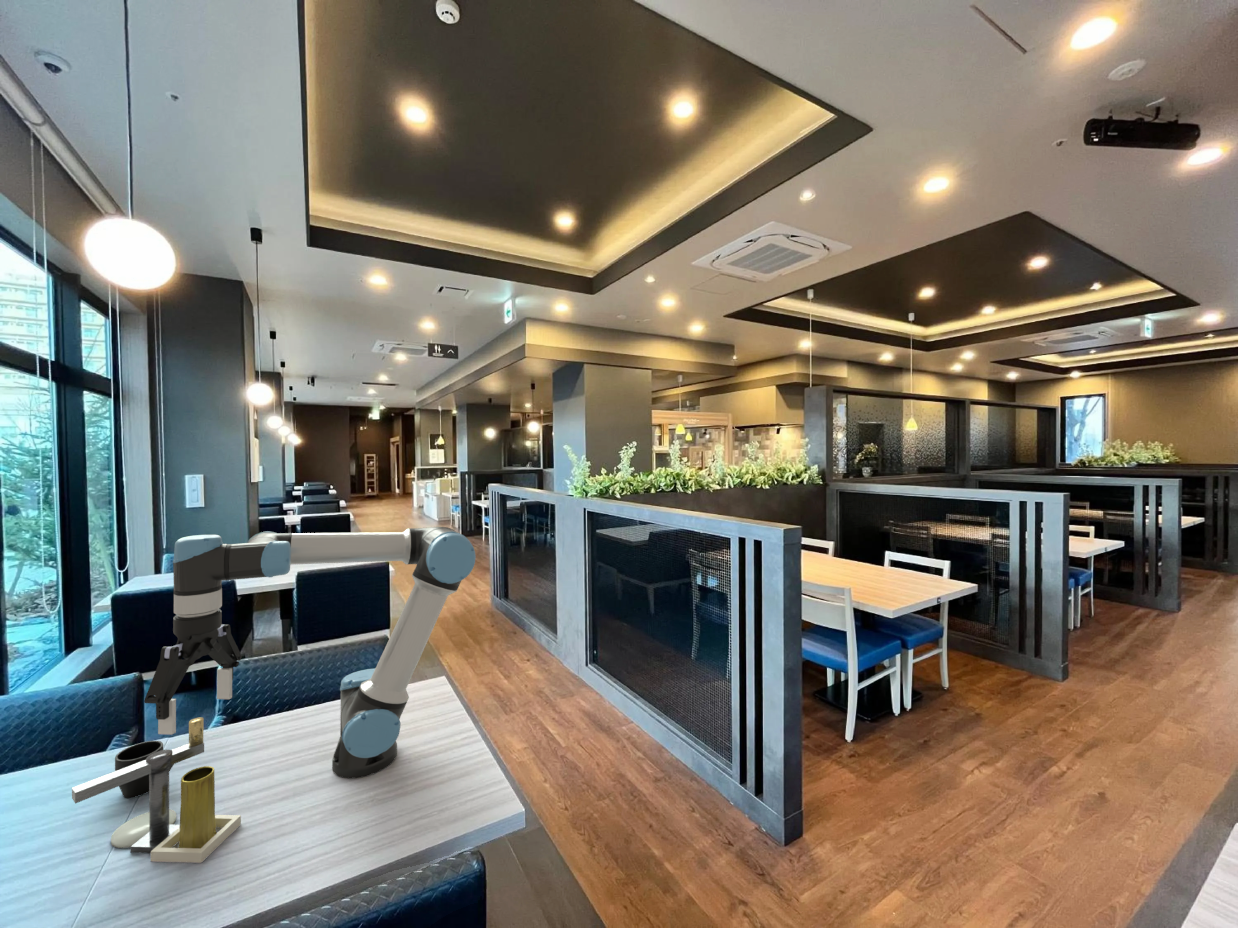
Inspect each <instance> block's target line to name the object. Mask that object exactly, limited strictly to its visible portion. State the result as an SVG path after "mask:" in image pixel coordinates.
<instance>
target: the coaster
mask: <svg viewBox="0 0 1238 928" xmlns="http://www.w3.org/2000/svg"><path fill="white" fill-rule="evenodd" d="M176 821H177V812H176V811H175V810H173V809H170V808H169V825H175V823H176ZM148 832H149V811H147V812H144V813H142V814H140V815H136V816H134V817H133V818H131V819H129V820H127V821H126V822H124V823H122V824H121V825H119V826H118V827H117V828H115V830H114V832H113V833H112V834H111V836H110V837H111V838H110V844H111V846H112V847H114V848H117V849H127V848H129V849H130V847H131V846H132V845H133V844H135V843H136V842H137V841H138V840H140V839H141V838H142V837H143V836H145V835H146V834H147V833H148Z"/></svg>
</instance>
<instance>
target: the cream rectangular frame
mask: <svg viewBox="0 0 1238 928" xmlns="http://www.w3.org/2000/svg"><path fill="white" fill-rule="evenodd" d="M215 823H216V829H218V828H221V829H220V830H219V831H218V832H217V834H216V835H215V836H213V837H212V838H211V839H210V840H209V841H208V842H207V843H206V844H205V845H204V846H203V847H202V848H201V849H200V848H178V847H175V845H177V844H179V837H180V827H179V828H178V829H177V830H176V831H174V832H173V833H172V834H171V835H170V836H169V837H167V838H166V839H165V840H164V841H163V842H161V843H160V844H159V845H158V846H157V847H155V848H154V849H153V850H152V851H151V853H150V862H158V863H160V862H161V863H195V864H196V863H197V864H201V863H202V862H204V861H205V860H206V859H207V858H208V857H209V856H210V855H211V854H212V853H213V852H214V851H215V850H216V849H218V847H219V846H221V844H222V843H223V842H224V841H225V840H227V838H228V837H230V836H231V835H232V834H233V832H235V831H236V830H237V829H238V828H239V827H240V826H241V825H242V816H241V814H240V815H239V814H238V815H236V814H235V815H234V814H233V815H232V814H215Z"/></svg>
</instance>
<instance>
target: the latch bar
mask: <svg viewBox="0 0 1238 928" xmlns="http://www.w3.org/2000/svg"><path fill="white" fill-rule="evenodd" d="M204 720H205V719H204V717H195V718H192V719H190V720H189V721H188V743H185V744H183V745H181V746H178V747H176V748H173V749H163V750H161V751H158V752H155V753H153V754H151V755H149V756H148V757H147V758H146V760H144V761H141V762H138V763H136V764H133V765H130V766H128V767H125V768H123V769H120V770H117V771H115V770H114V771H112V772H109V773H107V774H105V775H102V776H99V777H97V778H94V779H91V780H89V781H86V782H84V783H80V784H78V785H76V786H73V787H71V799H72V801H73V803H74V804H77V803H80V802H82V801H85V800H89V799H90V798H92V797H95V796H99V795H100V794H102V793H105V792H107V791H111V790H113V789H115V788H118V787H119V786H121V785H123V784H126V783H128V782H131V781H133V780H136V779H138V778H141V777H143V776H146V775H148V774H151V773H156V772H160V771H163V770H165V769H167V768H169V767H170V766H171V765H173V764H174V765H176V764H177V763H180V762H183V761H186V760H188V759H191V758H193V757H195V756H198V755H200V754H203V753H205V742H204V725H205V723H204ZM174 765H173V766H174Z"/></svg>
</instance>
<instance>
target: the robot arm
mask: <svg viewBox="0 0 1238 928" xmlns="http://www.w3.org/2000/svg"><path fill="white" fill-rule="evenodd" d="M173 550H174V551H173V560H172V565H173V566H172V568H173V569H172V570H173V614H175V615H174V616H173V621H172V624H173V628H172V631H173V634H174V635H175V637H177V642H176V644H175V645H173V646H172V645H171V646H163V647H162V648H161V650H160V655H159V656H160V657H159V658H160V659H159V662H158V663H157V666H156V669H155V671H154V675H153V677H152V679H151V682H150V685H149V687H148V689H147V692H146V695H145V698H144V700H143V701H144V704H155V718H156V720H157V721H158V723H157V724H158V725H157V726H158V727H157V734H158V735H168V736H169V735H171V736H172V735H174V734H176V733H177V722H176V721H177V698H173V697H174V696H175V693H176V691H177V690H178V688H179V687H180V684H181V682H182V680H183V679H184V677H185V675H186V674H187V671H188V670H189V668H190V667H191V666H193V665H194V663H195V662H196V661H197V660H199V659H201V658H202V657H204V656H209V657H210V658H211V659H212V660H213V661H215V662H216V664H218V665H219V666H220V667H219V668H217V669H216V699H217V700H230V699H232V698H233V681H234V680H233V679H234V668H237V667H239V665H240V661H241V660H242V658H243V656H242V654H241V652H240V649H239V647H238V645H237V644H236V640H235V639H234V637H233V635H232V629H231V625H230V624H223V622H222V617H223V614H222V612H223V611H222V610H221V608H222V607H223V588H222V587H223V584H222V582H223V581H234V580H246V579H259V578H273V577H278V576H285V575H288V573H290V571H291V566H292V565H313V564H314V565H316V564H320V565H321V564H344V563H345V564H347V563H373V562H375V563H377V562H403V564H405V565H416V566H415V568H414V570H413V572H412V575H411V577H412V579H413V582H414V585H413V587H412V589H411V591H410V594H409V596H408V598H407V599H406V602H405V604H404V606H403V609H402V611H401V612H400V614H399V617H398V620H397V622H396V624H395V625H394V628H393V630H392V631H391V634H390V636H389V639H388V641H387V643H386V645H385V646H384V650H383V652H382V654H381V655H380V658H379V660H378V662H377V664H376V667H375V668H367V669H361V670H358V671H354V672H352V673H349V674H347V675H345V676H344V677H343V678H342V679H341V681H340V688H339V691H340V719H339V721H340V726H339V727H340V728H339V729H340V730H339V731H340V732H339V733H340V736H339V739H338V741H337V745H336V748H335V751H334V753H333V757H332V760H331V761H332V765H331V766H332V767H331V768H332V772H333V773H334V775H336V776H337V777H340V778H344V779H357V778H358V779H359V778H363V777H368V776H371V775H374V774H377V773H378V772H381V771H383V770H385V769H386V768H388V766H391V764H392V763H393V762H394V761H395V759H396V758H397V756H398V743H397V739H398V738H399V735H400V731H401V717H402V714H403V712H404V710H405V708H406V705H407V703H408V700H409V699H410V696H409V693H408V691H407V688H408V685H409V684H410V681H411V678H412V676H413V674H414V672H415V671H416V670H415V669H416V667H417V665H418V663H419V661H420V659H421V657H422V654H423V652H424V650H425V648H426V646H427V643H428V641H429V638H430V637H431V635H432V632H433V631H434V628H435V626H436V623H437V621H438V619H439V616H440V615H441V612H442V609H443V607H444V606H445V603H446V601H447V599H448V597H449V596H451V594H454V593H456V592H457V591H458V589H459V587H460V584H461V583H462V581H463V580H464V579H466V578H467V577H469V576H470V574H471V573H472V571H473V569H474V567H475V564H476V551H475V547H474V545H473V543H472V542H471V541H470V540H469V538H468V537H466V536H465V535H464V534H462V533H460V532H458V531H456V530H455V529H452V528H450V527H447V526H433V527H432V526H431V527H418V528H417V527H416V528H406V529H405V530H404V531H402V532H401V531H400V532H399V531H398V532H397V531H396V532H395V531H394V532H393V531H392V532H389V531H388V532H387V531H386V532H315V533H314V532H311V533H310V532H307V533H306V532H305V533H304V532H303V533H296V532H295V533H293V532H292V533H287V532H285V533H277V532H274V531H268V530H267V531H263V532H262V531H261V532H259V533H256V534H254V535H253V536H252V537H250V538H249V539H248V540H247V542H244V543H243V542H241V543H224V542H223V538H222V536H220V535H218V534H198V535H197V534H196V535H195V534H194V535H189V536H184V537H181V538H179V539H177V541H175V543H174V549H173Z"/></svg>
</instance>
